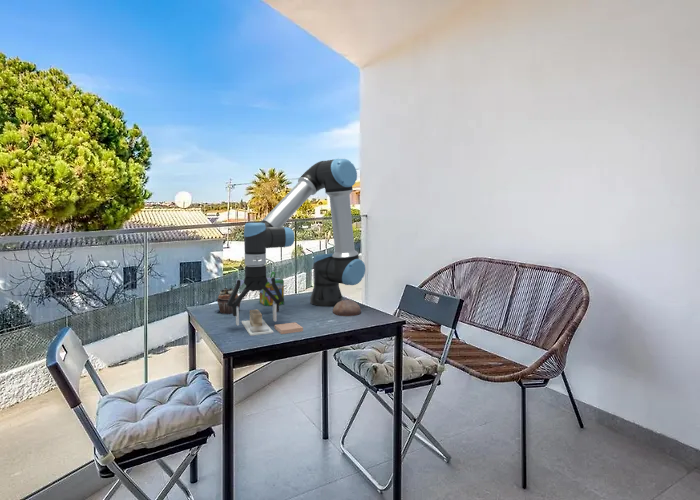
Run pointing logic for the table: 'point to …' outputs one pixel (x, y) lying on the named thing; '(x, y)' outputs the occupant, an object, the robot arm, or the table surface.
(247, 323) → the mat
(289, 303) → the table surface
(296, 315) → the table surface
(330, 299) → the robot arm
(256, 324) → the beige boxy piece
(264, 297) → the chalk box
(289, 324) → the tile
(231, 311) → the cupcake
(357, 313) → the decorative stone
